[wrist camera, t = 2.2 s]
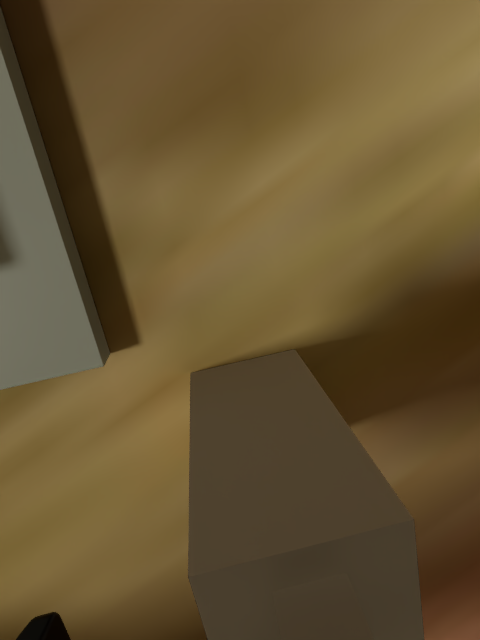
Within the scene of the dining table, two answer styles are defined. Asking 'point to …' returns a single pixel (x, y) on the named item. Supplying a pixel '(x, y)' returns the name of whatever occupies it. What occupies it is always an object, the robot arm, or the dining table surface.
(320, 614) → the connector plug
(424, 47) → the dining table surface
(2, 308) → the end holder
